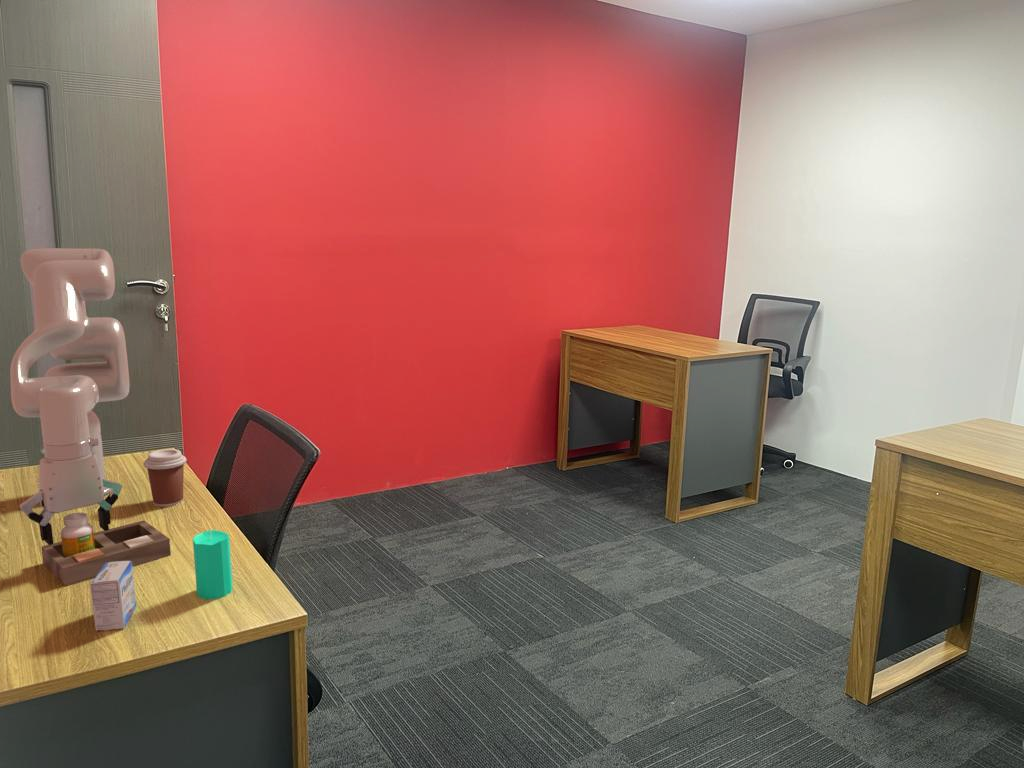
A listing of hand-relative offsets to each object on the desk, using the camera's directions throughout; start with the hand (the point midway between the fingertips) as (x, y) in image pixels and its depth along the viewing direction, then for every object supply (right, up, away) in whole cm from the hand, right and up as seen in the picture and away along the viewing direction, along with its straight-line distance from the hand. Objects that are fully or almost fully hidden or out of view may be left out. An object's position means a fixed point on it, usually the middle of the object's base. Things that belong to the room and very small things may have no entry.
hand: (77, 535), depth 146 cm
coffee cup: (+2, +1, +34) cm, 34 cm away
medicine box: (+17, -10, -19) cm, 27 cm away
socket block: (+4, -5, +3) cm, 7 cm away
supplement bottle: (0, -6, +1) cm, 6 cm away
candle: (+30, -9, -9) cm, 32 cm away
